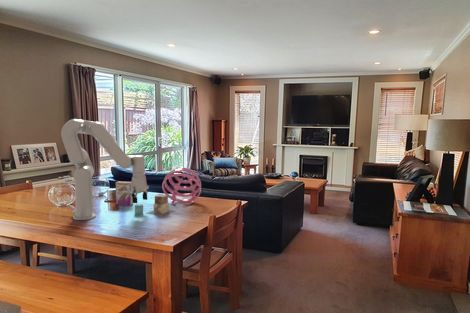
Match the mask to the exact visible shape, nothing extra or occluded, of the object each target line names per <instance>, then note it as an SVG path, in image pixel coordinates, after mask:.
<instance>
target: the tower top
mask: <svg viewBox="0 0 470 313" xmlns="http://www.w3.org/2000/svg"><path fill="white" fill-rule="evenodd" d="M168 198H169V197H168V195H166V194H161V193H160V194H157V195H154V203H155V204H162V205H163V204H165V203H168V202H169V199H168Z"/></svg>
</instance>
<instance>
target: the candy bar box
mask: <svg viewBox="0 0 470 313" xmlns="http://www.w3.org/2000/svg"><path fill="white" fill-rule="evenodd" d="M131 182H132V181H120V180H119V181H115V205H117V206H133V204H134V203H133V199H132V196H131V194H130V190H131Z"/></svg>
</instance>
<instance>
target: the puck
mask: <svg viewBox="0 0 470 313" xmlns="http://www.w3.org/2000/svg"><path fill="white" fill-rule="evenodd" d="M134 215H135V216H142V215H144V205H143V204H139V203H137V204H134Z"/></svg>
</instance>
